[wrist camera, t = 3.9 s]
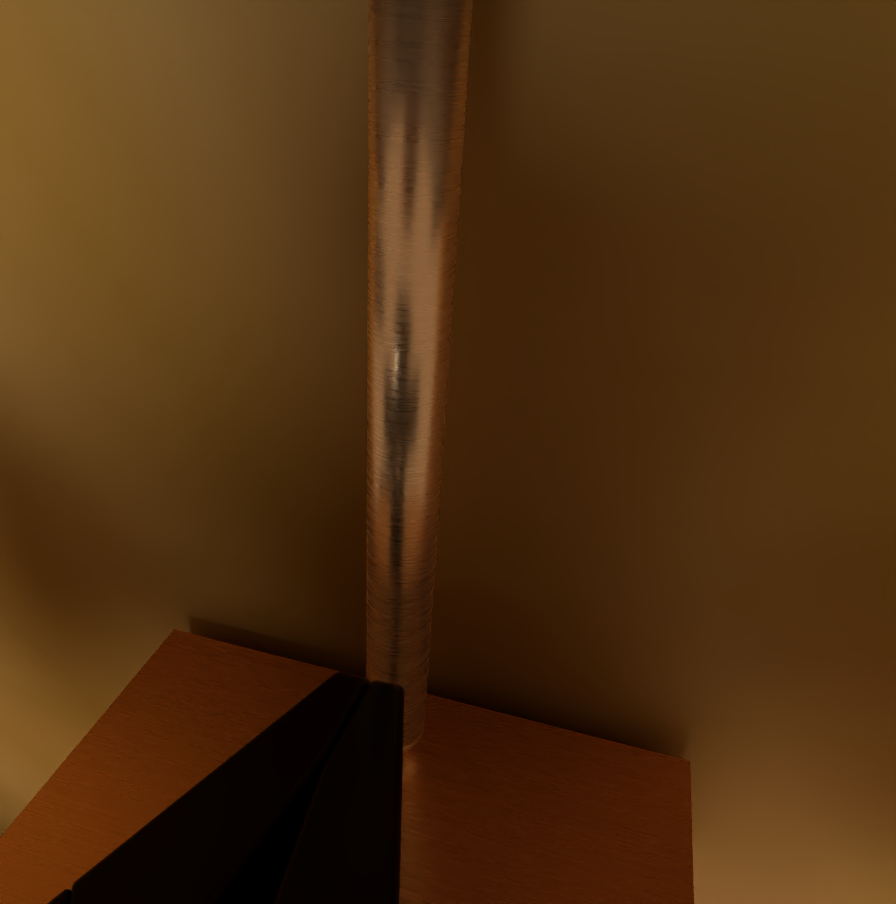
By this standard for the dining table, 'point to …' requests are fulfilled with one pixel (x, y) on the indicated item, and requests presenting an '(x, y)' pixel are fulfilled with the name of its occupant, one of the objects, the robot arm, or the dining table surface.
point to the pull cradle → (388, 605)
